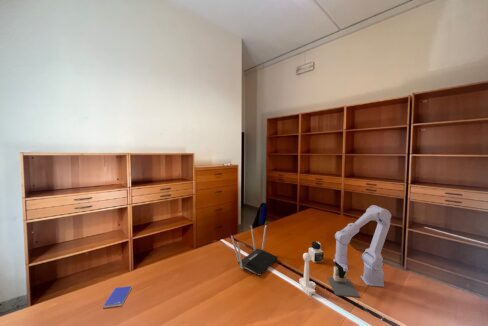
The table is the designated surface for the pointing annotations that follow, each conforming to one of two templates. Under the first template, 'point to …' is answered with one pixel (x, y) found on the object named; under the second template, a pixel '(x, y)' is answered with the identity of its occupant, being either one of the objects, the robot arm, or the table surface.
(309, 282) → the joystick
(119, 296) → the hard drive
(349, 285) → the mat
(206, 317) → the table surface
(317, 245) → the medicine bottle
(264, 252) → the wireless router
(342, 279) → the slab
